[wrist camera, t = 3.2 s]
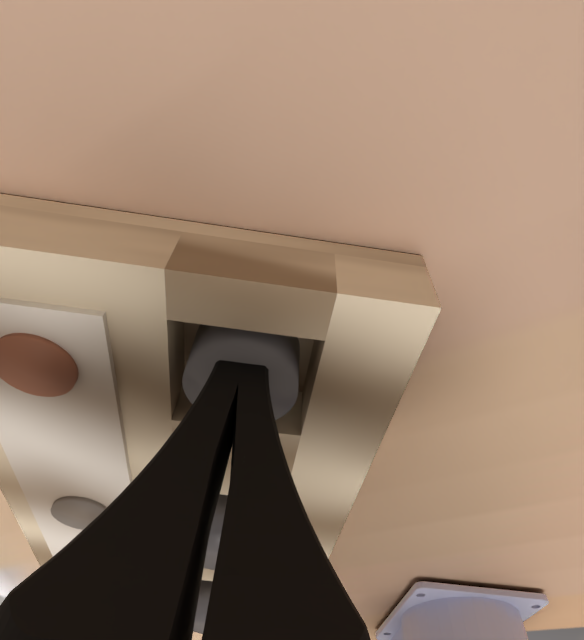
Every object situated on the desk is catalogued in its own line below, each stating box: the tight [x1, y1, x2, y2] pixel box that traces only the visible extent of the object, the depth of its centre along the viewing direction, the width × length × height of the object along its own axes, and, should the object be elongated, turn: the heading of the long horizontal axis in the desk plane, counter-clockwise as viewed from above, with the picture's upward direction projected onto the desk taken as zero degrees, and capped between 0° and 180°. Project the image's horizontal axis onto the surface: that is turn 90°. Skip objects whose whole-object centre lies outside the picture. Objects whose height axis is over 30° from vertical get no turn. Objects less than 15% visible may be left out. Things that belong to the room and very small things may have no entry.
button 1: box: [182, 324, 300, 420], centre depth 13 cm, size 3×3×2 cm
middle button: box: [204, 494, 228, 570], centre depth 17 cm, size 3×3×2 cm
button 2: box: [193, 580, 213, 634], centre depth 22 cm, size 3×3×2 cm
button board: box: [0, 194, 441, 581], centre depth 18 cm, size 23×13×3 cm, turn 172°
